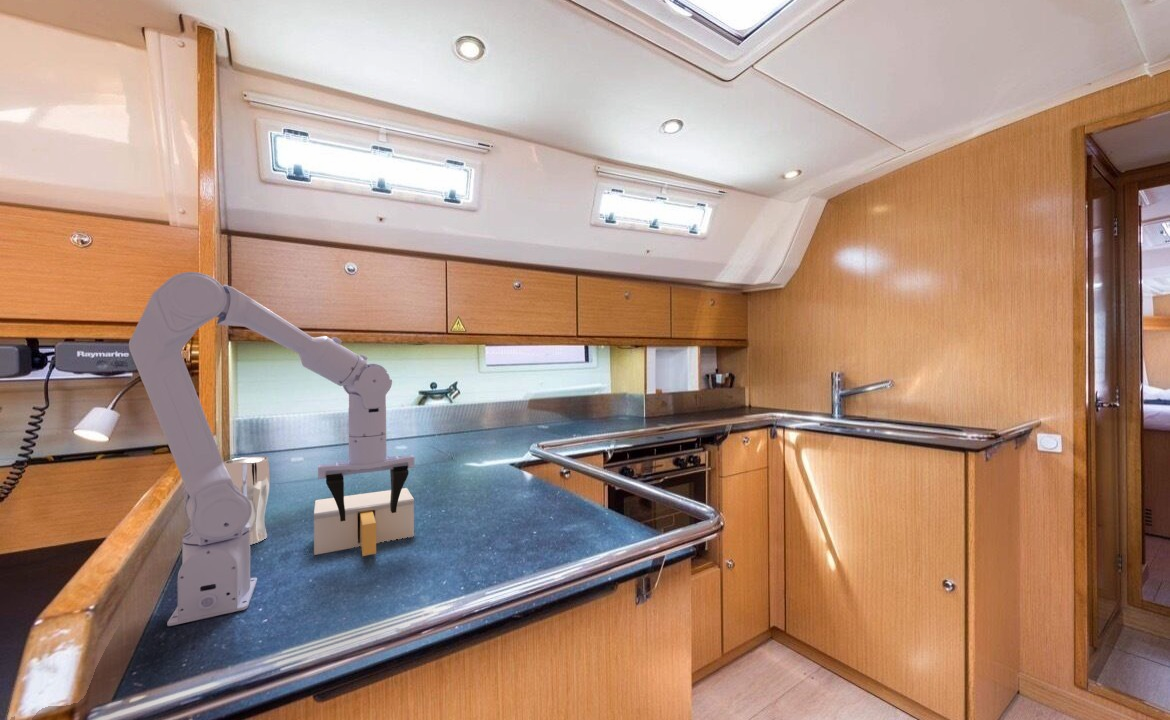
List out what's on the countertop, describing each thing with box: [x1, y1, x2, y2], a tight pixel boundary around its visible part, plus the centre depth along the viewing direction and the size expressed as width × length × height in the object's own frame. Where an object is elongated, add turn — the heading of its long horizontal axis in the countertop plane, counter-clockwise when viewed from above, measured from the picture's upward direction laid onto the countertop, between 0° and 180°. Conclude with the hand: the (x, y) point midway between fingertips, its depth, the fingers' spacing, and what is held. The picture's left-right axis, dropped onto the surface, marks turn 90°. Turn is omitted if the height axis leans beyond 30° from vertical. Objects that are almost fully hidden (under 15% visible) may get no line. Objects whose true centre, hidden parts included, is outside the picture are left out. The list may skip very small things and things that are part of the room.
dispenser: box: [313, 487, 415, 556], centre depth 84 cm, size 10×16×7 cm, turn 119°
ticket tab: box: [358, 510, 377, 557], centre depth 80 cm, size 14×2×5 cm, turn 29°
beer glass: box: [223, 455, 271, 546], centre depth 83 cm, size 7×7×15 cm
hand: (368, 515), depth 76 cm, fingers open, 7 cm apart
